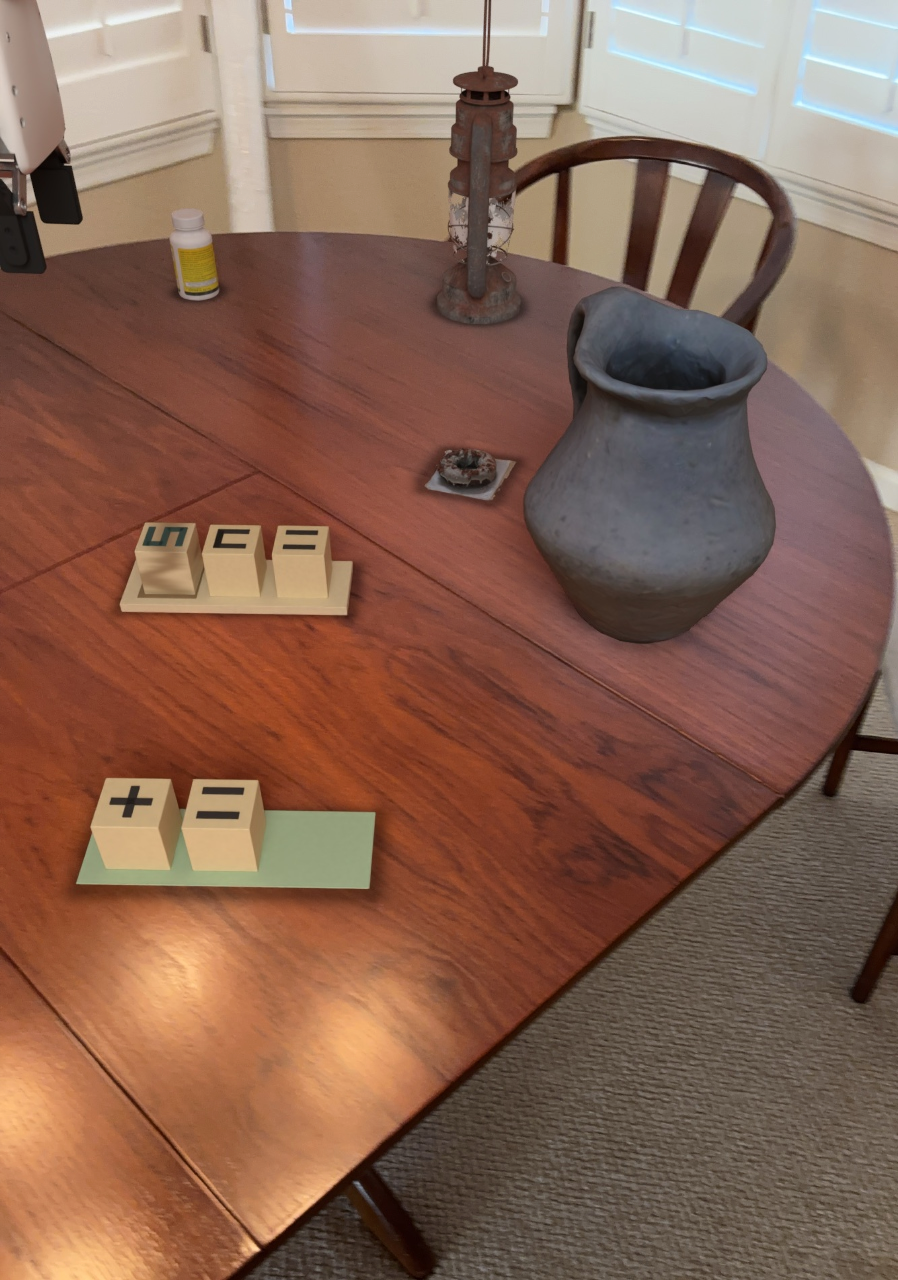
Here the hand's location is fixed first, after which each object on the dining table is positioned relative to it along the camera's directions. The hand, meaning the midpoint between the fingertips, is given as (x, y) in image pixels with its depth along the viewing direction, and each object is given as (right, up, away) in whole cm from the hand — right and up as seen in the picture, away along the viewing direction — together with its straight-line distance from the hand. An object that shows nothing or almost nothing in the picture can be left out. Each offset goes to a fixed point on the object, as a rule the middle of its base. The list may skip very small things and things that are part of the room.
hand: (44, 246), depth 79 cm
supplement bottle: (-3, +25, +61) cm, 66 cm away
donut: (+33, -8, +30) cm, 45 cm away
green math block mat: (+15, -46, -4) cm, 48 cm away
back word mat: (+11, -23, +17) cm, 30 cm away
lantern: (+34, +23, +59) cm, 72 cm away
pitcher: (+46, -24, +16) cm, 55 cm away
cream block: (+6, -22, +16) cm, 27 cm away
